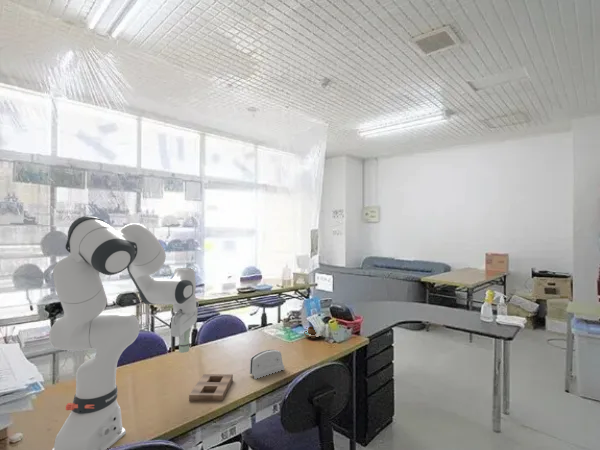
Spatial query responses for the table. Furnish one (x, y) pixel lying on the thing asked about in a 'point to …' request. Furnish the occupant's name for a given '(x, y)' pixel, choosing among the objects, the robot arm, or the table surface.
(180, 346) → the peg
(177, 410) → the table surface
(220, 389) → the board
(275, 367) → the grey rounded block
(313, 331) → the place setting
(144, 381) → the table surface
